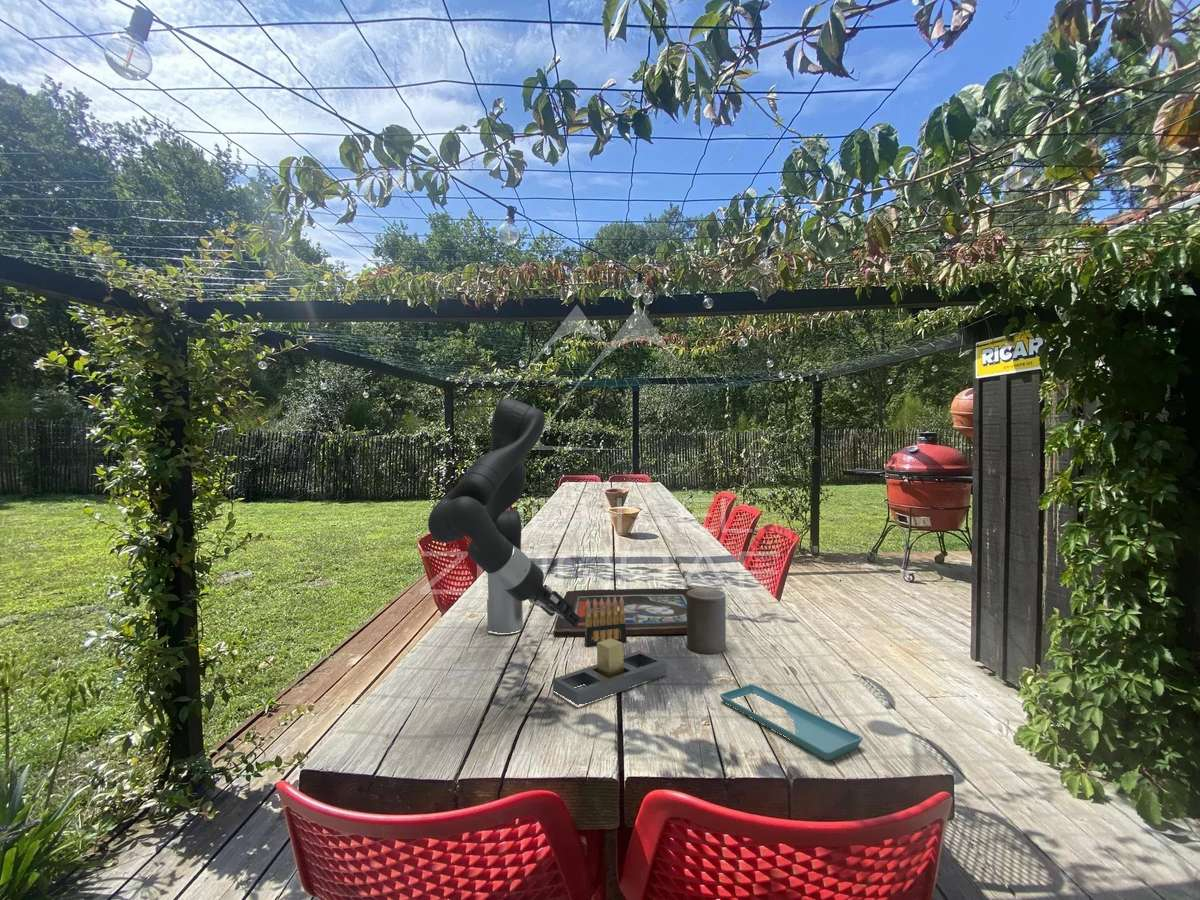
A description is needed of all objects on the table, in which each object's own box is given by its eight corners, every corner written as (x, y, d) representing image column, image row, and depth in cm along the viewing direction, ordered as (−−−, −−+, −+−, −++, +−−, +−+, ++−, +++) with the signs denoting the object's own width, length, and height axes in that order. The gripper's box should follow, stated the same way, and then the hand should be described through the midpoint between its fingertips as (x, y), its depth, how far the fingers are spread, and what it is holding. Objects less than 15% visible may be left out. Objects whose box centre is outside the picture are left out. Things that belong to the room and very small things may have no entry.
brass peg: (609, 689, 123) (608, 647, 123) (597, 683, 126) (596, 642, 126) (623, 684, 126) (623, 643, 126) (612, 678, 129) (611, 638, 129)
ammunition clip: (625, 640, 152) (624, 594, 152) (626, 643, 150) (625, 596, 150) (584, 644, 150) (583, 598, 149) (586, 647, 148) (584, 600, 148)
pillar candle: (683, 652, 143) (682, 591, 143) (690, 638, 152) (690, 581, 152) (723, 657, 140) (723, 595, 139) (728, 642, 149) (728, 584, 148)
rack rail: (577, 708, 115) (577, 693, 115) (553, 692, 122) (552, 678, 122) (666, 675, 130) (666, 662, 130) (639, 663, 137) (639, 650, 137)
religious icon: (723, 635, 154) (723, 624, 154) (553, 640, 155) (552, 629, 155) (699, 594, 194) (699, 585, 194) (564, 598, 195) (564, 589, 195)
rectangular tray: (718, 704, 117) (718, 692, 117) (752, 693, 121) (751, 681, 121) (828, 768, 94) (827, 753, 94) (864, 752, 98) (864, 737, 98)
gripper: (545, 562, 109) (596, 610, 117) (509, 550, 121) (557, 594, 128) (521, 596, 106) (574, 643, 114) (486, 580, 118) (537, 623, 125)
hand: (565, 617), depth 121 cm, fingers open, 8 cm apart
